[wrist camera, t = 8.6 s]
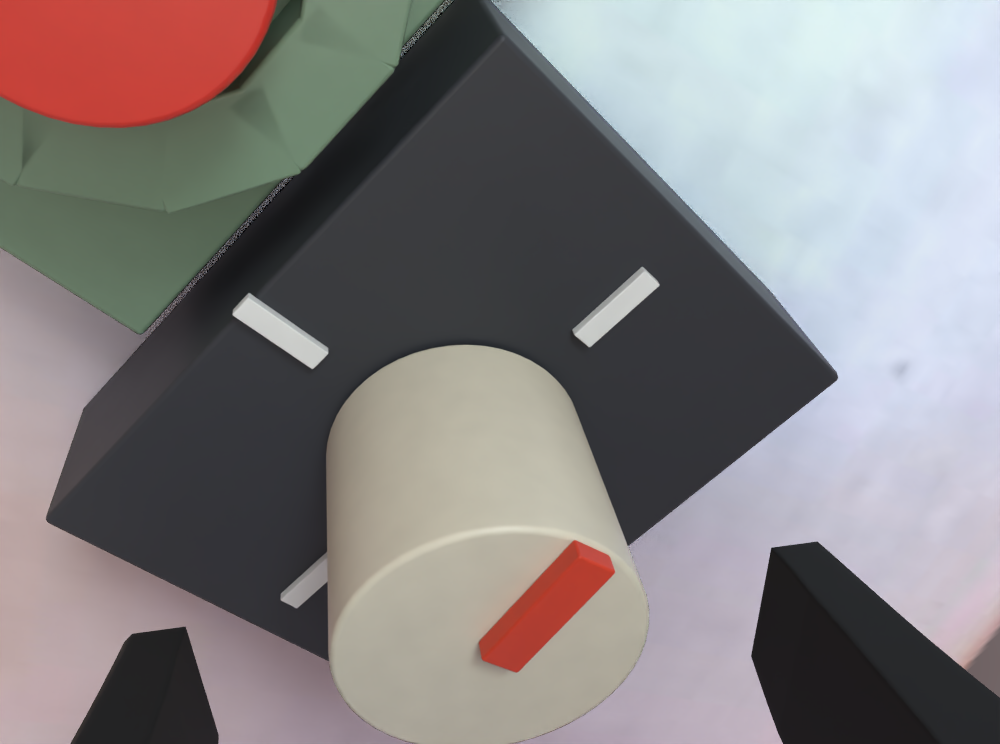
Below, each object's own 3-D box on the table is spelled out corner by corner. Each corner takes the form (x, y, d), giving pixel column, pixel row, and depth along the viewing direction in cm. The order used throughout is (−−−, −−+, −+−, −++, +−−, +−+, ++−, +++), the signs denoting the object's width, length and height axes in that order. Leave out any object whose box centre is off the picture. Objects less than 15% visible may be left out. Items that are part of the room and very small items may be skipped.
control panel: (414, 597, 21) (428, 719, 18) (76, 406, 17) (32, 526, 14) (773, 294, 18) (849, 387, 15) (466, -25, 14) (500, 28, 11)
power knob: (483, 573, 17) (528, 800, 13) (277, 489, 15) (264, 723, 11) (629, 412, 15) (724, 617, 12) (419, 296, 13) (456, 497, 10)
